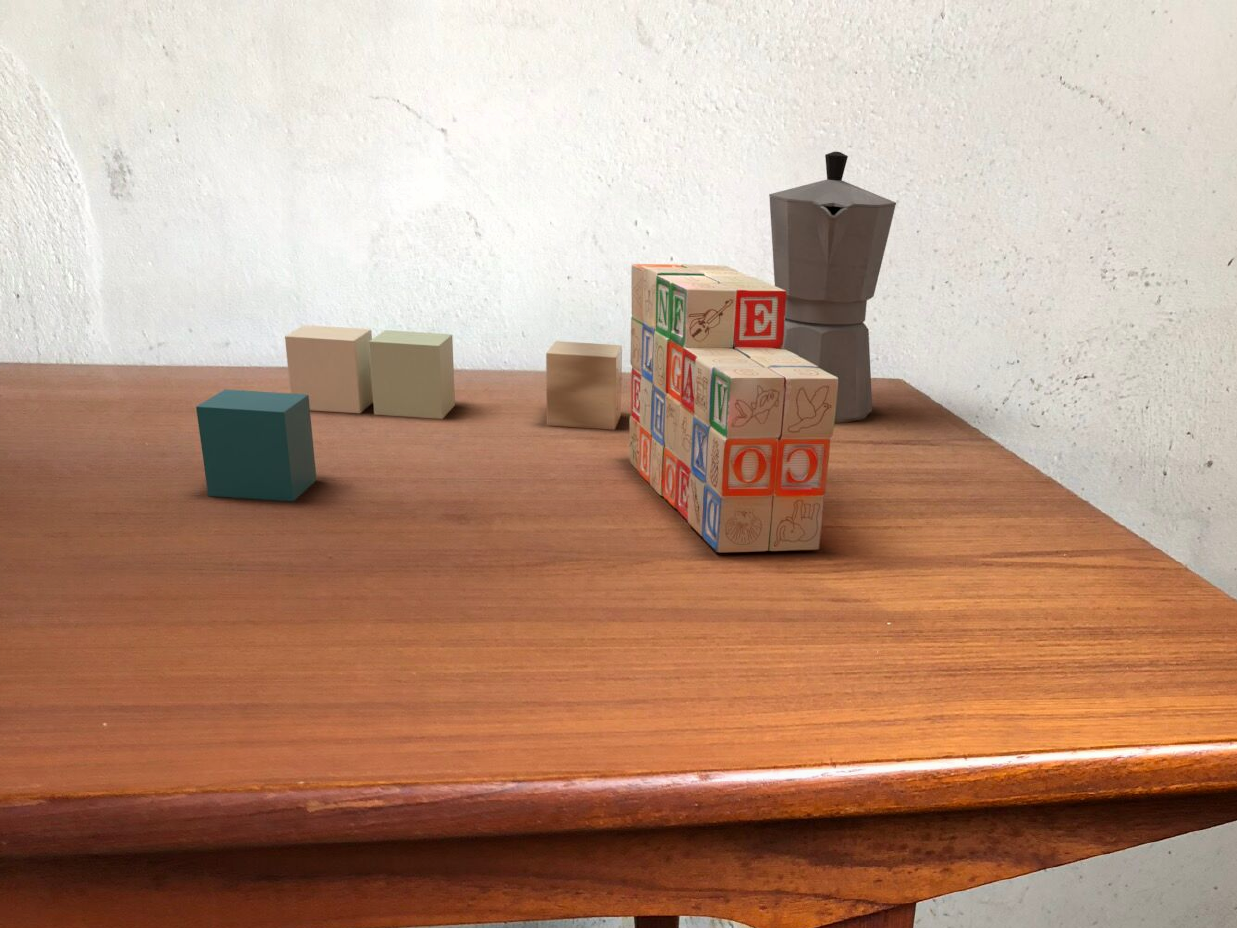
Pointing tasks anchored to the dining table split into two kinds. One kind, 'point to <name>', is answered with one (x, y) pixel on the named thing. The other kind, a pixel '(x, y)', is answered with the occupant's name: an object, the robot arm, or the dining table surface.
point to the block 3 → (583, 385)
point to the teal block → (257, 445)
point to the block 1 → (331, 367)
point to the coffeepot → (831, 277)
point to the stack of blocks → (727, 408)
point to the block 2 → (412, 374)
